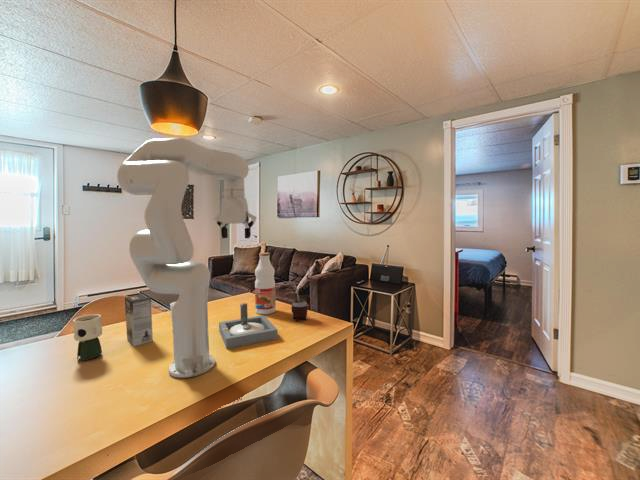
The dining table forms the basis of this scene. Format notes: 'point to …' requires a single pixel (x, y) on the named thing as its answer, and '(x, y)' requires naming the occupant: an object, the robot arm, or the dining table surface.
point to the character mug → (88, 335)
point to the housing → (250, 337)
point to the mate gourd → (299, 308)
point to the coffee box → (138, 319)
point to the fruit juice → (265, 286)
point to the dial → (245, 323)
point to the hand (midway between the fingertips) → (236, 238)
